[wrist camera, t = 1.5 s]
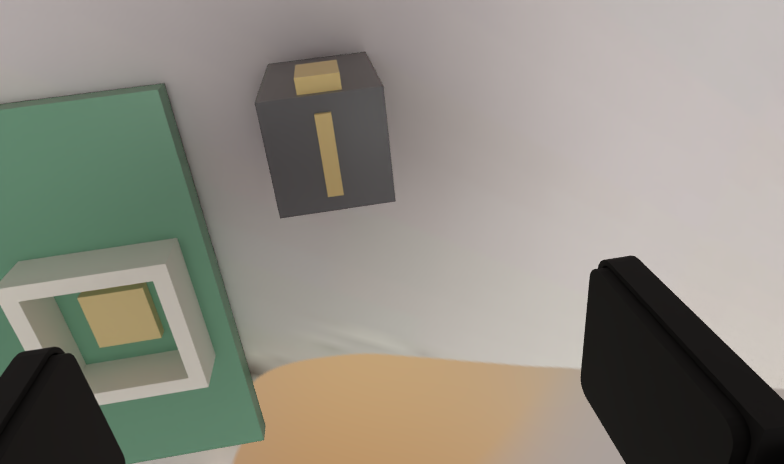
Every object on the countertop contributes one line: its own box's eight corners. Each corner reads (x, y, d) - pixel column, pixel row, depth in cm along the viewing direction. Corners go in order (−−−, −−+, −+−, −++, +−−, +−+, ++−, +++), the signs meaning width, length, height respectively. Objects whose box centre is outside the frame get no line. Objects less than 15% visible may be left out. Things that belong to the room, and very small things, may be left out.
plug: (376, 144, 27) (395, 202, 21) (286, 156, 27) (280, 219, 21) (363, 38, 25) (381, 69, 19) (265, 50, 25) (250, 86, 18)
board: (265, 425, 35) (260, 474, 32) (8, 470, 34) (-24, 525, 31) (163, 83, 25) (142, 104, 21) (-213, 131, 24) (-295, 161, 20)
